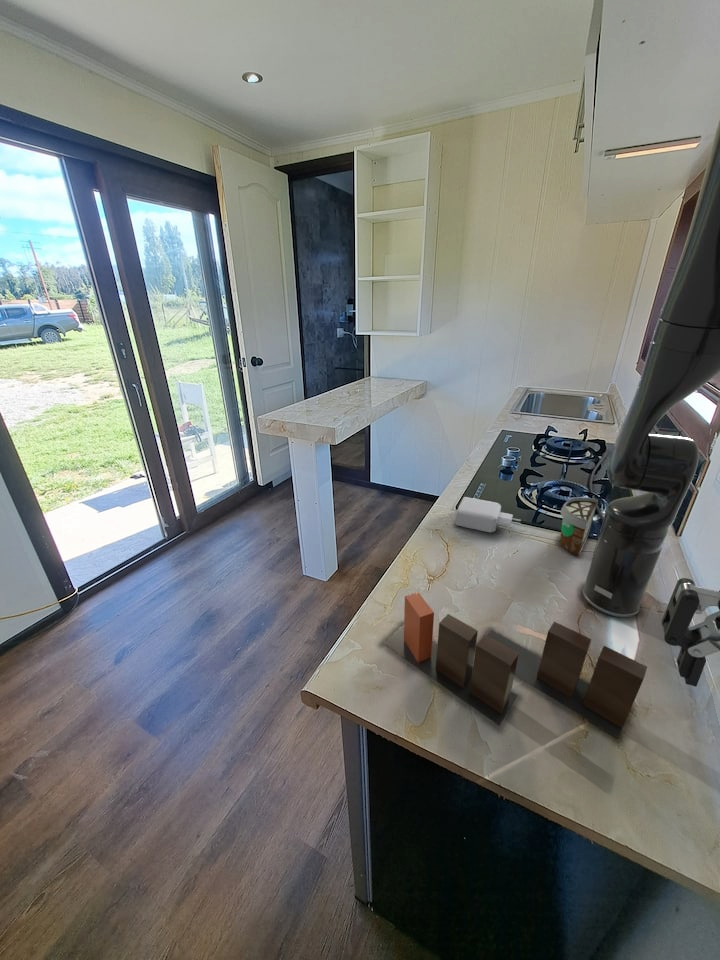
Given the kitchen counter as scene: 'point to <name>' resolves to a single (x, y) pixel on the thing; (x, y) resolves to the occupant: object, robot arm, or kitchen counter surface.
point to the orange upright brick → (418, 626)
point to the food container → (576, 523)
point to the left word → (467, 666)
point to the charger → (482, 515)
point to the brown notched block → (561, 671)
